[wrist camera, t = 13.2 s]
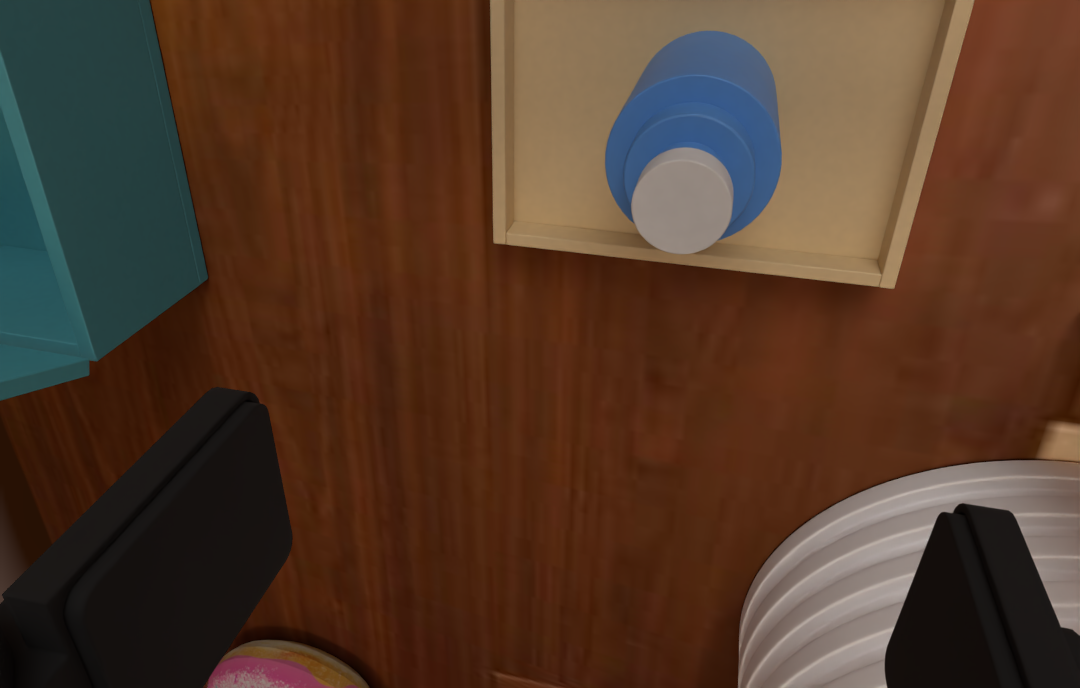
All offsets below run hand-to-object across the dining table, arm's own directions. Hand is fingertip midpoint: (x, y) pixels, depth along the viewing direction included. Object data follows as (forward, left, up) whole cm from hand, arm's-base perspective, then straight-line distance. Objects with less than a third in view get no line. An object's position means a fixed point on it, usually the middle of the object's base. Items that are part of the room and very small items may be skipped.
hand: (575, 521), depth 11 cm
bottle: (0, 0, -25) cm, 25 cm away
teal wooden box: (-12, -30, -26) cm, 41 cm away
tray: (0, 0, -26) cm, 26 cm away
